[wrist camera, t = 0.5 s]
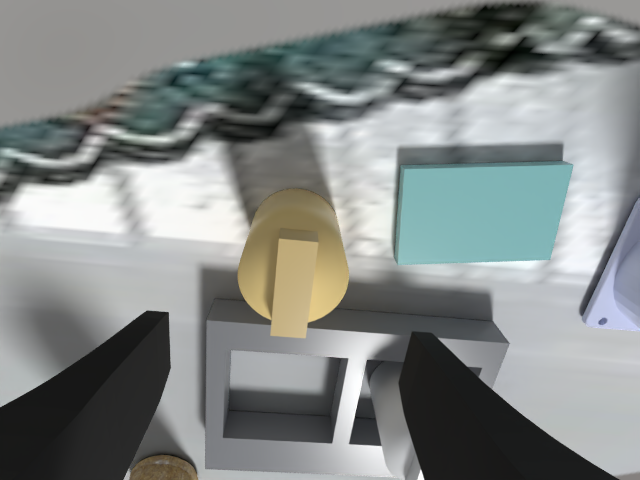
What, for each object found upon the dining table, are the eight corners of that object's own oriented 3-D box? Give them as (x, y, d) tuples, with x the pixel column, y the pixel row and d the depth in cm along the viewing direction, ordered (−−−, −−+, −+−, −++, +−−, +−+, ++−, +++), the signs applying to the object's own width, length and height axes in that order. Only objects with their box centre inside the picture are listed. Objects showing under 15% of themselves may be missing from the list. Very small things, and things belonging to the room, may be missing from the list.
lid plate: (563, 160, 19) (573, 164, 19) (541, 253, 21) (550, 259, 21) (400, 165, 19) (404, 169, 18) (394, 257, 21) (397, 265, 20)
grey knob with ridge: (447, 356, 24) (490, 443, 18) (430, 410, 26) (464, 504, 20) (376, 351, 24) (398, 438, 18) (363, 406, 25) (381, 500, 20)
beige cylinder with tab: (344, 193, 20) (360, 243, 14) (332, 271, 21) (342, 343, 16) (254, 183, 19) (236, 231, 14) (250, 263, 21) (231, 334, 15)
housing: (493, 321, 23) (509, 343, 21) (446, 452, 27) (456, 480, 26) (214, 298, 22) (206, 320, 20) (211, 440, 26) (205, 469, 24)
